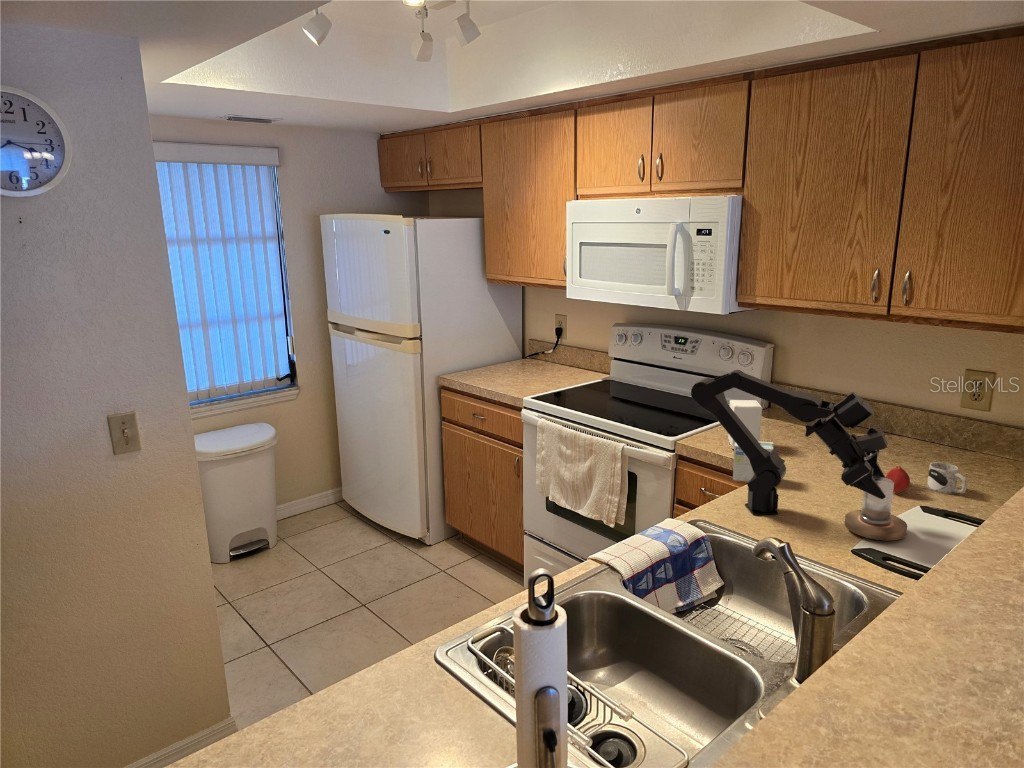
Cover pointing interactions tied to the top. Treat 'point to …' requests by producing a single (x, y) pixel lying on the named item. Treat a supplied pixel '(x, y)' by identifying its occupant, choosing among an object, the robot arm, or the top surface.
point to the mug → (945, 478)
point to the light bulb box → (745, 462)
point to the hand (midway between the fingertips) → (885, 491)
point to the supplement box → (748, 416)
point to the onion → (899, 479)
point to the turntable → (876, 527)
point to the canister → (878, 504)
